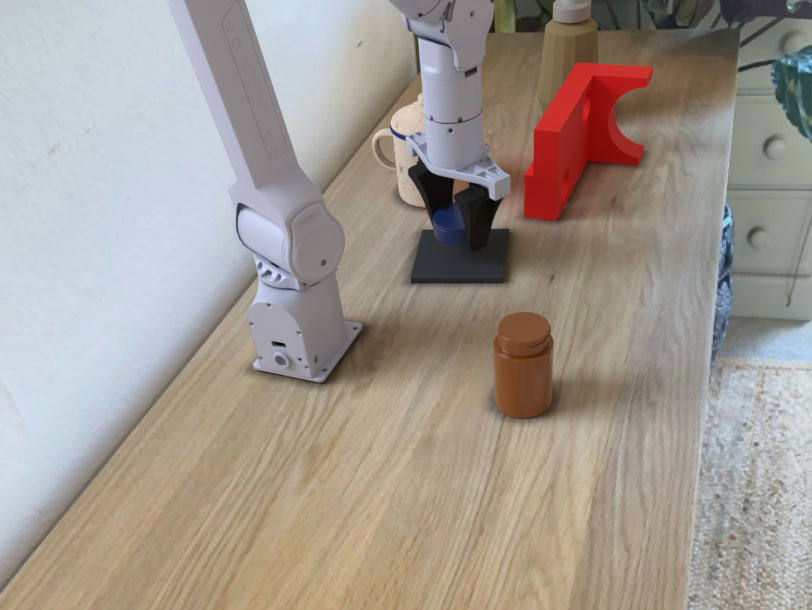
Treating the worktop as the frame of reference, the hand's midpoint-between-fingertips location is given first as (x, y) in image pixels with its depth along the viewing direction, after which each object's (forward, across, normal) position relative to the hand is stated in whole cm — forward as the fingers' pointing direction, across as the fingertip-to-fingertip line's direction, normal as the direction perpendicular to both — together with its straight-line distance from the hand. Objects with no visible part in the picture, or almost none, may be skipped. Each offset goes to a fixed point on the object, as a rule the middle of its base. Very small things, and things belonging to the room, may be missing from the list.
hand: (460, 237), depth 94 cm
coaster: (+2, 0, 0) cm, 2 cm away
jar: (+2, -23, +11) cm, 25 cm away
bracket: (+3, +2, -21) cm, 21 cm away
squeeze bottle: (+3, +16, -31) cm, 35 cm away
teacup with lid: (+3, +15, -6) cm, 17 cm away
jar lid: (-2, 0, 0) cm, 2 cm away
